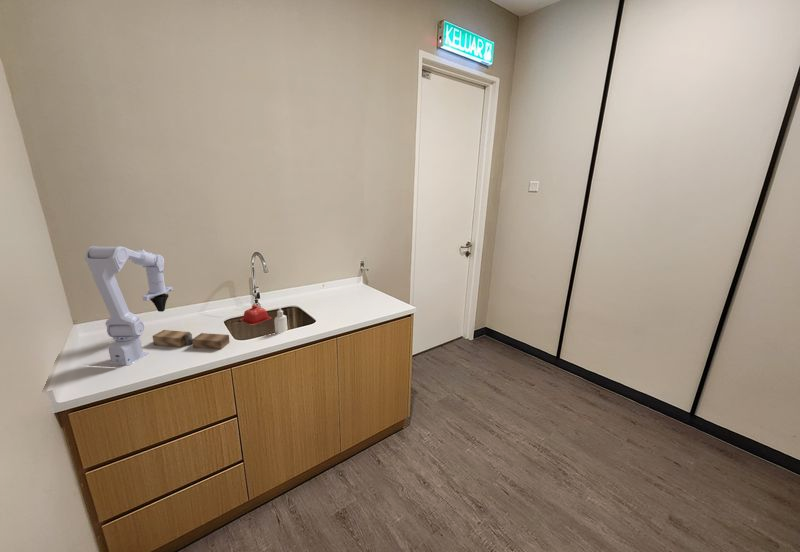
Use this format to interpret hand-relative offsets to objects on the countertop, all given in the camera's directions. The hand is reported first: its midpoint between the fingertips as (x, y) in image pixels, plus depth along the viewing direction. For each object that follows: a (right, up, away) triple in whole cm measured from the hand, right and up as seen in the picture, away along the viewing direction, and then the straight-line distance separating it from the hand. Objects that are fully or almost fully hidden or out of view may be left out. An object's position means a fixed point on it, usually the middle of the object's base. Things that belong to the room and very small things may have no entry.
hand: (161, 311), depth 147 cm
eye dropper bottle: (+51, -11, +6) cm, 52 cm away
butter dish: (+34, -7, +19) cm, 39 cm away
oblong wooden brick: (+27, -14, -8) cm, 31 cm away
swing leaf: (+11, -13, -6) cm, 18 cm away
